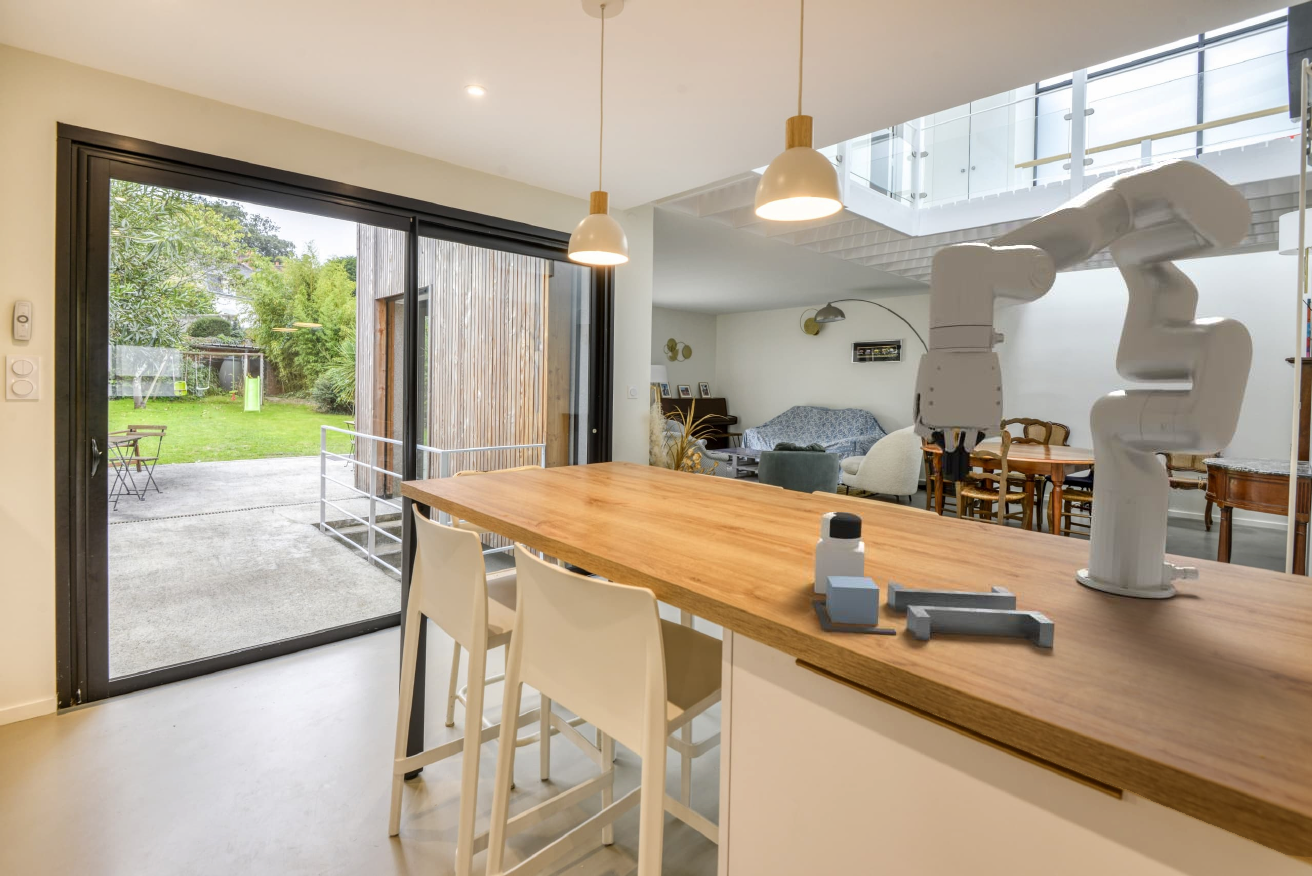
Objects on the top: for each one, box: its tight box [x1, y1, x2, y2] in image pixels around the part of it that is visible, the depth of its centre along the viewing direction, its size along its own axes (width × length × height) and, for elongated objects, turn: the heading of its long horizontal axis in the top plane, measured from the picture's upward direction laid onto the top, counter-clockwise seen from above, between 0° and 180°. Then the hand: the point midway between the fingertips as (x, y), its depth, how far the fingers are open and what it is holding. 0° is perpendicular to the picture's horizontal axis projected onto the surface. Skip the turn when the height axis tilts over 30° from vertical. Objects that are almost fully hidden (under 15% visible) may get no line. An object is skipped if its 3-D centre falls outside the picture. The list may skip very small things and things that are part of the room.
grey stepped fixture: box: [886, 581, 1055, 648], centre depth 81 cm, size 16×14×3 cm
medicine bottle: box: [814, 511, 866, 595], centre depth 94 cm, size 7×7×12 cm
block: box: [825, 576, 880, 626], centre depth 82 cm, size 6×5×5 cm
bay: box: [812, 599, 897, 635], centre depth 82 cm, size 9×11×1 cm
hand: (955, 480), depth 80 cm, fingers closed
